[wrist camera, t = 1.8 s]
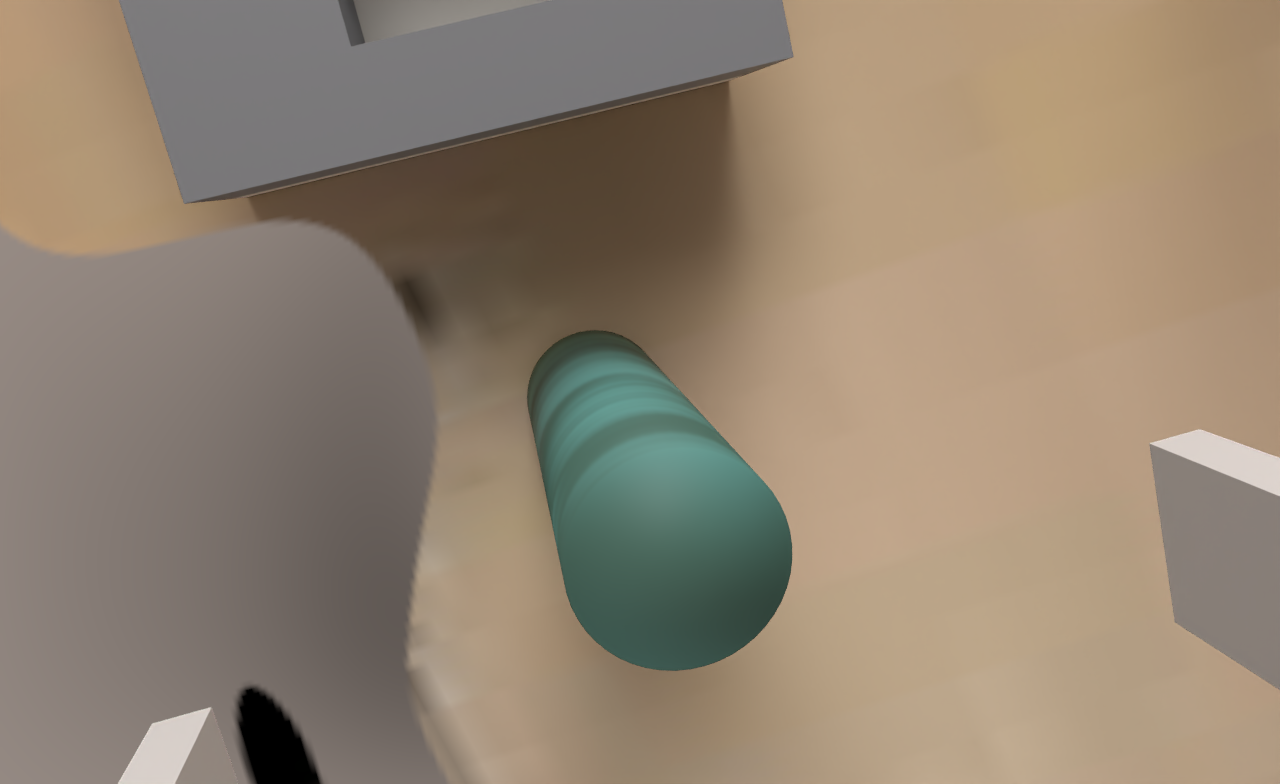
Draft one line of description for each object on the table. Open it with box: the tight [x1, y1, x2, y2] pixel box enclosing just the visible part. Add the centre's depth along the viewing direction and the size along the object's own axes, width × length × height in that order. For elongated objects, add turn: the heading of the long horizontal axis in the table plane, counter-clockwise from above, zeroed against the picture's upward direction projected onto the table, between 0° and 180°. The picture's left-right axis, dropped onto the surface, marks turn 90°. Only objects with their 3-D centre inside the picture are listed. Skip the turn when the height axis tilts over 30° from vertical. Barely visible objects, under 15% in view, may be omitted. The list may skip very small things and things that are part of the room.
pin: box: [527, 330, 792, 671], centre depth 27 cm, size 4×4×15 cm
